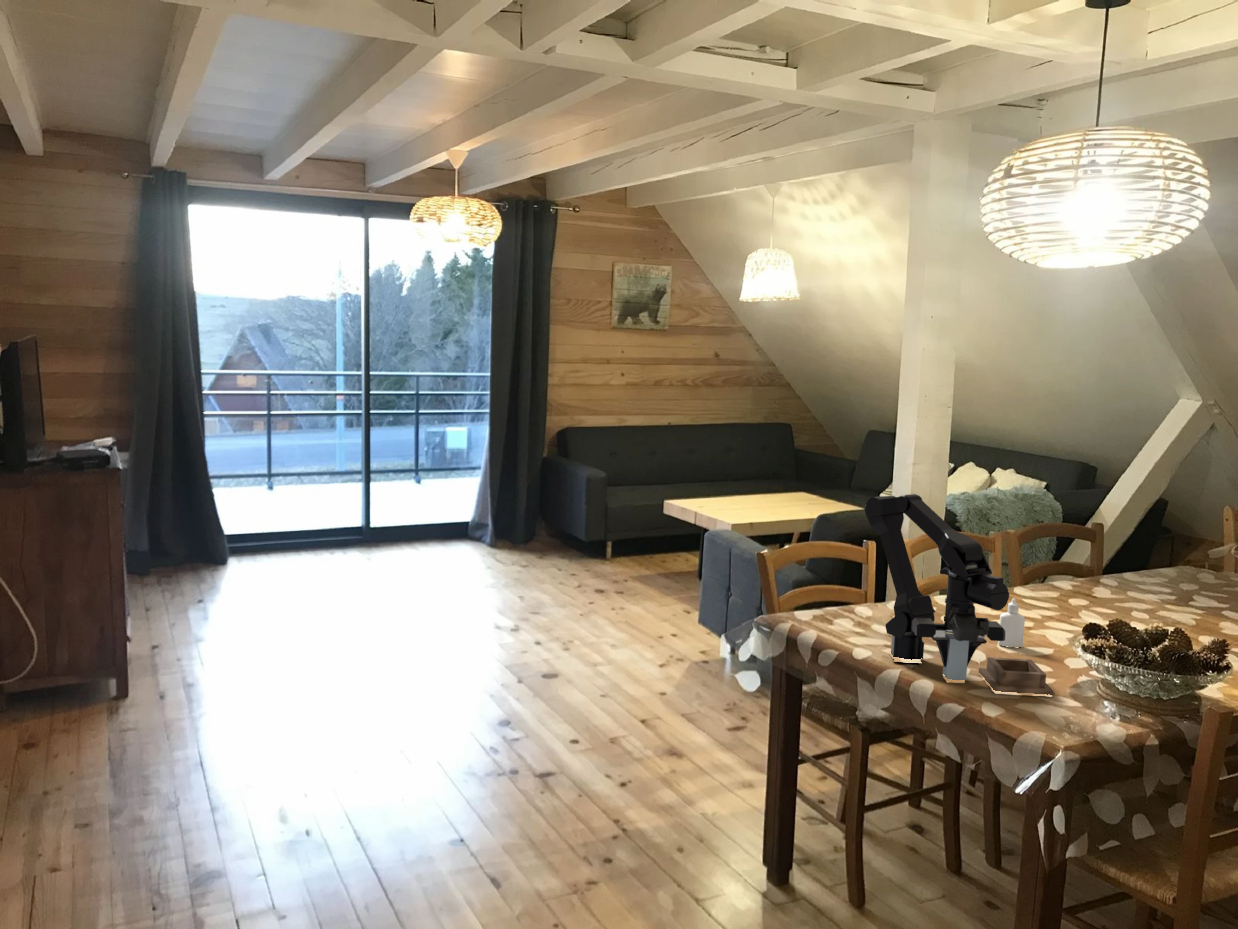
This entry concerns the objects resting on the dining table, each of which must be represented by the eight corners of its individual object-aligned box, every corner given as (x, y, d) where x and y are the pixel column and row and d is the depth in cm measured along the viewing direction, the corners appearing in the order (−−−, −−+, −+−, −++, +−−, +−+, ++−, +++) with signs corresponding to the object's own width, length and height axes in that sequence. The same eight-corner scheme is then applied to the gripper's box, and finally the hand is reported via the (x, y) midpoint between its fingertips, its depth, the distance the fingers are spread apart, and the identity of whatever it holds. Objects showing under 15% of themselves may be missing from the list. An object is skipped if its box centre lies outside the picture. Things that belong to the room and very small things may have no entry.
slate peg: (946, 683, 211) (950, 638, 210) (942, 676, 215) (945, 633, 214) (965, 684, 211) (969, 639, 210) (960, 677, 215) (964, 634, 214)
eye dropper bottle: (1002, 641, 241) (1006, 594, 239) (1025, 647, 237) (1029, 599, 235) (994, 645, 238) (998, 597, 236) (1017, 651, 234) (1021, 602, 232)
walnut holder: (994, 694, 205) (996, 674, 205) (978, 674, 217) (979, 655, 216) (1052, 697, 204) (1054, 677, 204) (1033, 677, 216) (1035, 657, 216)
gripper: (924, 606, 203) (919, 677, 205) (1016, 610, 202) (1010, 682, 204) (913, 592, 214) (908, 659, 216) (1000, 596, 213) (994, 664, 215)
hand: (954, 666), depth 213 cm, fingers closed on slate peg, 4 cm apart
